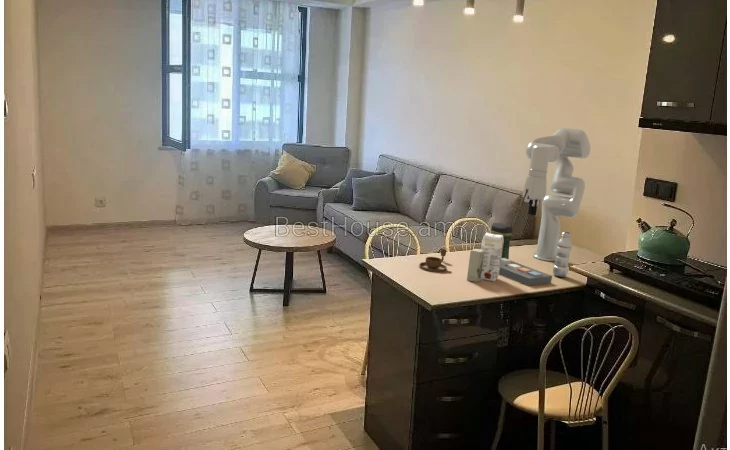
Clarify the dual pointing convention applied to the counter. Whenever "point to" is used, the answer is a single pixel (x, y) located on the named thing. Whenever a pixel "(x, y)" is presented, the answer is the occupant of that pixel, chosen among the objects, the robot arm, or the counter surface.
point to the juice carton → (491, 256)
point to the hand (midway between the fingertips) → (531, 214)
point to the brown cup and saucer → (434, 263)
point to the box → (475, 265)
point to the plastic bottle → (562, 255)
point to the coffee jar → (506, 232)
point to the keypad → (524, 275)
